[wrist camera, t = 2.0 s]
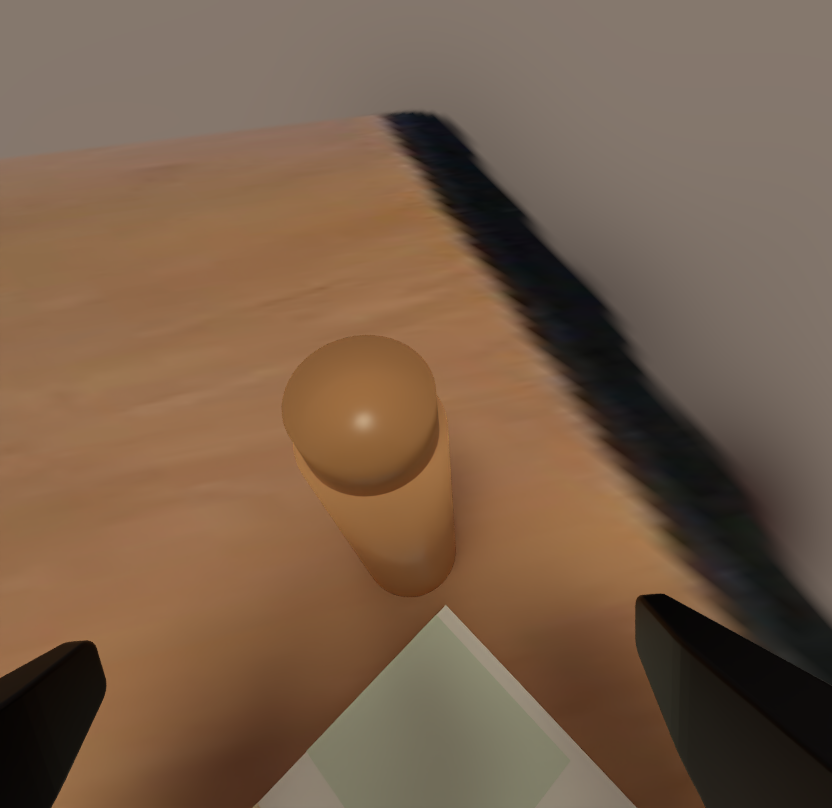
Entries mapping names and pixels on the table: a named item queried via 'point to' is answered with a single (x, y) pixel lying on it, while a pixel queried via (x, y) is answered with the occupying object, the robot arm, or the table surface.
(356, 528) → the tan cylindrical piece
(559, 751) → the sheet
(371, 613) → the table surface
